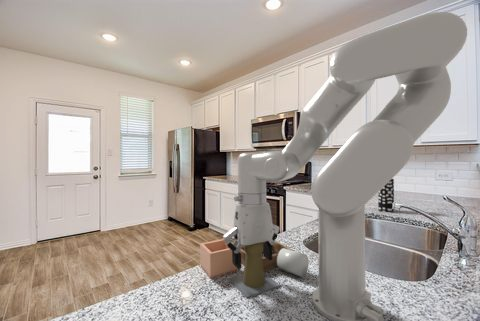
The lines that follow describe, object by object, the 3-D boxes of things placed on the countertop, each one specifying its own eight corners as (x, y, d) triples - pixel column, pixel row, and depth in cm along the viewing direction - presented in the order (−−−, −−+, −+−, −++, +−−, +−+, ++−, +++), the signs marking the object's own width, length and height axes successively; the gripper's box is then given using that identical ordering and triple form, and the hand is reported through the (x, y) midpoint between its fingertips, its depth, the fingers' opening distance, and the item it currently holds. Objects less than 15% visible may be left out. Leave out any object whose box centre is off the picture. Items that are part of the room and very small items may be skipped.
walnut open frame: (294, 263, 71) (293, 250, 71) (255, 274, 64) (255, 260, 64) (271, 250, 82) (271, 239, 82) (236, 259, 75) (236, 247, 75)
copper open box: (237, 271, 67) (237, 247, 67) (210, 278, 63) (210, 253, 63) (225, 260, 74) (225, 238, 74) (200, 266, 70) (200, 243, 70)
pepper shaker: (238, 284, 59) (238, 242, 59) (248, 273, 64) (248, 235, 64) (260, 290, 56) (259, 246, 56) (268, 278, 62) (268, 238, 62)
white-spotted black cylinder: (381, 208, 146) (380, 178, 146) (396, 210, 140) (395, 178, 140) (376, 210, 141) (376, 179, 141) (391, 213, 135) (391, 179, 135)
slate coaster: (279, 286, 58) (279, 285, 58) (246, 298, 53) (246, 296, 53) (258, 270, 67) (258, 268, 67) (228, 279, 62) (228, 277, 62)
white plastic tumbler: (308, 272, 66) (308, 251, 66) (299, 280, 61) (298, 258, 61) (287, 264, 70) (287, 245, 70) (277, 272, 66) (276, 251, 66)
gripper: (229, 204, 53) (230, 277, 53) (286, 197, 61) (287, 260, 61) (217, 199, 59) (217, 264, 59) (270, 194, 68) (270, 250, 68)
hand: (253, 262), depth 60 cm, fingers open, 9 cm apart
